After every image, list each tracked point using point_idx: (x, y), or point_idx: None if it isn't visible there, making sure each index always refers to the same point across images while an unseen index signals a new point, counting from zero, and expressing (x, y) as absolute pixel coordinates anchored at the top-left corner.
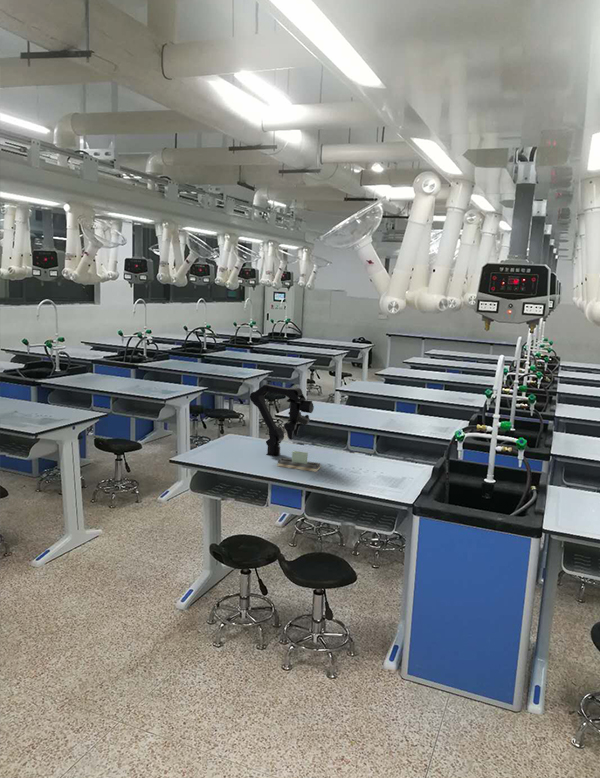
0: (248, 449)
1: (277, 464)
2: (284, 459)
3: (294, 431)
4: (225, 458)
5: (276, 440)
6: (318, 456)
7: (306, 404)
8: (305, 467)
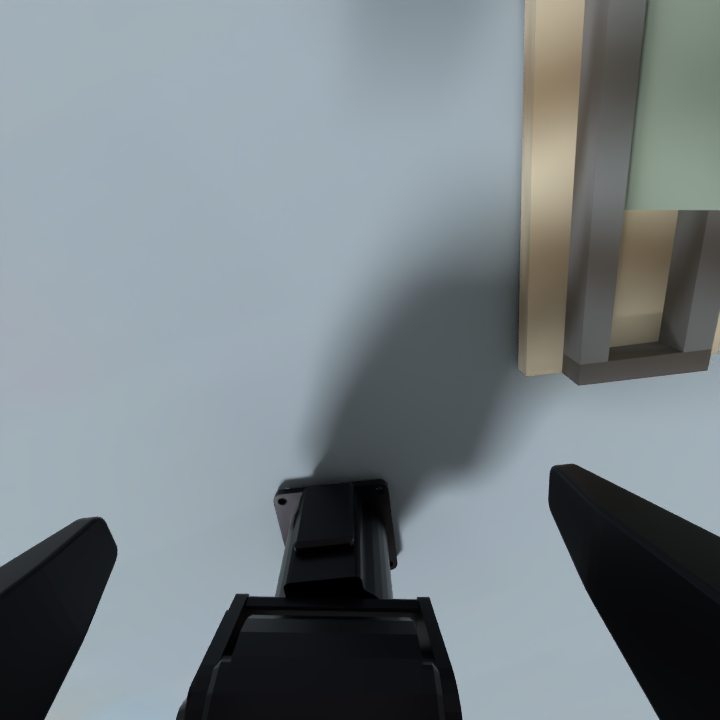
0: None
1: (715, 349)
2: (606, 335)
3: (36, 687)
4: (622, 712)
5: (439, 664)
6: (24, 50)
7: None
8: None
